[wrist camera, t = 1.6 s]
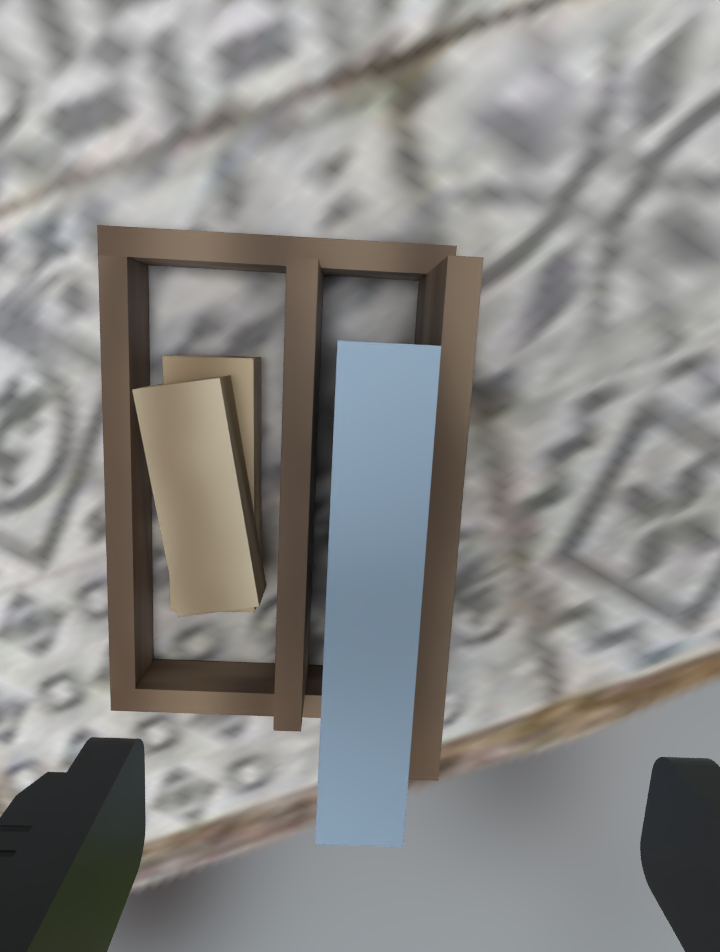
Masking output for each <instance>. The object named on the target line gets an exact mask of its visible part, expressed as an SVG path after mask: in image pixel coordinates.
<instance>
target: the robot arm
mask: <svg viewBox="0 0 720 952" xmlns="http://www.w3.org/2000/svg"><path fill="white" fill-rule="evenodd" d="M144 839H145V762H144V745H143V742H142V740H141V739H127V738H96V737H92V738H90V739H89V740H88V741H87V742H86V743H85V745H84V746H83V748H82V749H81V751H80V753H79V754H78V756H77V757H76V759H75V760H74V762H73V764H72V765H71V767H70V768H69V770H68V771H67V773H64V772H47V773H46V774H44V775H43V776H42V777H40V778H39V779H38V780H36V781H35V782H34V783H32V784H31V785H30V786H28V787H27V788H26V789H24V790H23V791H22V792H20V793H19V794H18V795H16V796H15V798H14V799H13V801H12V802H11V803H10V805H9V806H8V808H7V809H6V810H5V812H4V813H3V815H2V816H1V817H0V952H107V950H108V947H109V945H110V942H111V940H112V937H113V934H114V932H115V929H116V927H117V924H118V921H119V919H120V916H121V914H122V911H123V909H124V906H125V903H126V901H127V898H128V896H129V893H130V890H131V888H132V885H133V883H134V880H135V877H136V875H137V872H138V869H139V865H140V861H141V857H142V852H143V846H144ZM640 844H641V845H640V846H641V847H640V851H641V861H642V867H643V871H644V874H645V878H646V881H647V883H648V885H649V887H650V889H651V891H652V893H653V895H654V896H655V898H656V900H657V902H658V904H659V906H660V907H661V909H662V911H663V913H664V915H665V916H666V918H667V920H668V921H669V923H670V925H671V927H672V929H673V931H674V932H675V934H676V936H677V938H678V939H679V941H680V943H681V945H682V947H683V948H684V950H685V952H720V767H719V766H718V765H717V764H716V763H715V762H714V761H712V760H710V759H707V758H705V759H704V758H677V757H660V758H658V759H657V760H656V762H655V763H654V766H653V769H652V775H651V780H650V787H649V793H648V799H647V805H646V811H645V817H644V823H643V829H642V836H641V843H640Z"/></svg>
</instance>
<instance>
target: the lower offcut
mask: <svg viewBox="0 0 720 952" xmlns="http://www.w3.org/2000/svg"><path fill="white" fill-rule="evenodd" d="M227 375H231V380H232V386H233V392H234V398H235V404H236V410H237V416H238V422H239V428H240V433H241V439H242V445H243V451H244V457H245V463H246V469H247V475H248V481H249V487H250V492H251V498H252V504H253V510H254V516H255V522H256V528H257V534H258V540H259V545H260V551H261V357H235V356H201V355H168V356H163V384H167V383H174V382H182V381H189V380H197V379H204V378H212V377H219V376H227ZM170 606H171V611H177V610H176V605H175V600H174V595H173V590H172V585H171V580H170ZM255 609H256V607H252V608H244V609H236V610H228V611H221V612H255Z"/></svg>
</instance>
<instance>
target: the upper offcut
mask: <svg viewBox="0 0 720 952" xmlns="http://www.w3.org/2000/svg"><path fill="white" fill-rule="evenodd" d="M132 391H133V396H134V401H135V406H136V411H137V416H138V421H139V426H140V431H141V436H142V441H143V446H144V451H145V456H146V461H147V466H148V471H149V476H150V481H151V486H152V491H153V496H154V501H155V506H156V511H157V516H158V521H159V526H160V531H161V536H162V541H163V545H164V550H165V555H166V560H167V565H168V570H169V575H170V580H171V585H172V590H173V595H174V600H175V605H176V610H177V615H178V617H182V616H190V615H198V614H205V613H213V612H221V611H228V610H236V609H244V608H252V607H259V605H260V603H261V600H262V597H263V594H264V591H265V588H266V581H265V575H264V569H263V563H262V557H261V551H260V545H259V540H258V534H257V528H256V522H255V516H254V510H253V504H252V498H251V492H250V487H249V481H248V475H247V469H246V463H245V457H244V451H243V445H242V439H241V433H240V428H239V422H238V416H237V410H236V404H235V398H234V392H233V386H232V380H231V375H227V376H219V377H212V378H204V379H197V380H189V381H182V382H174V383H167V384H159V385H152V386H147V387H142V388H137V389H132Z"/></svg>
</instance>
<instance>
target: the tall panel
mask: <svg viewBox="0 0 720 952" xmlns="http://www.w3.org/2000/svg"><path fill="white" fill-rule="evenodd" d="M440 356H441V346H433V345H415V344H396V343H377V342H358V341H340V340H338V342H337V364H336V387H335V409H334V432H333V455H332V477H331V500H330V522H329V545H328V568H327V590H326V613H325V635H324V658H323V681H322V703H321V726H320V749H319V771H318V794H317V816H316V839H315V844H323V845H325V844H326V845H360V846H391V847H403V841H404V827H405V816H406V803H407V789H408V776H409V763H410V750H411V737H412V724H413V711H414V697H415V684H416V671H417V658H418V645H419V632H420V619H421V606H422V592H423V579H424V566H425V553H426V540H427V527H428V514H429V500H430V487H431V474H432V461H433V448H434V435H435V422H436V408H437V395H438V382H439V369H440Z"/></svg>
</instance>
